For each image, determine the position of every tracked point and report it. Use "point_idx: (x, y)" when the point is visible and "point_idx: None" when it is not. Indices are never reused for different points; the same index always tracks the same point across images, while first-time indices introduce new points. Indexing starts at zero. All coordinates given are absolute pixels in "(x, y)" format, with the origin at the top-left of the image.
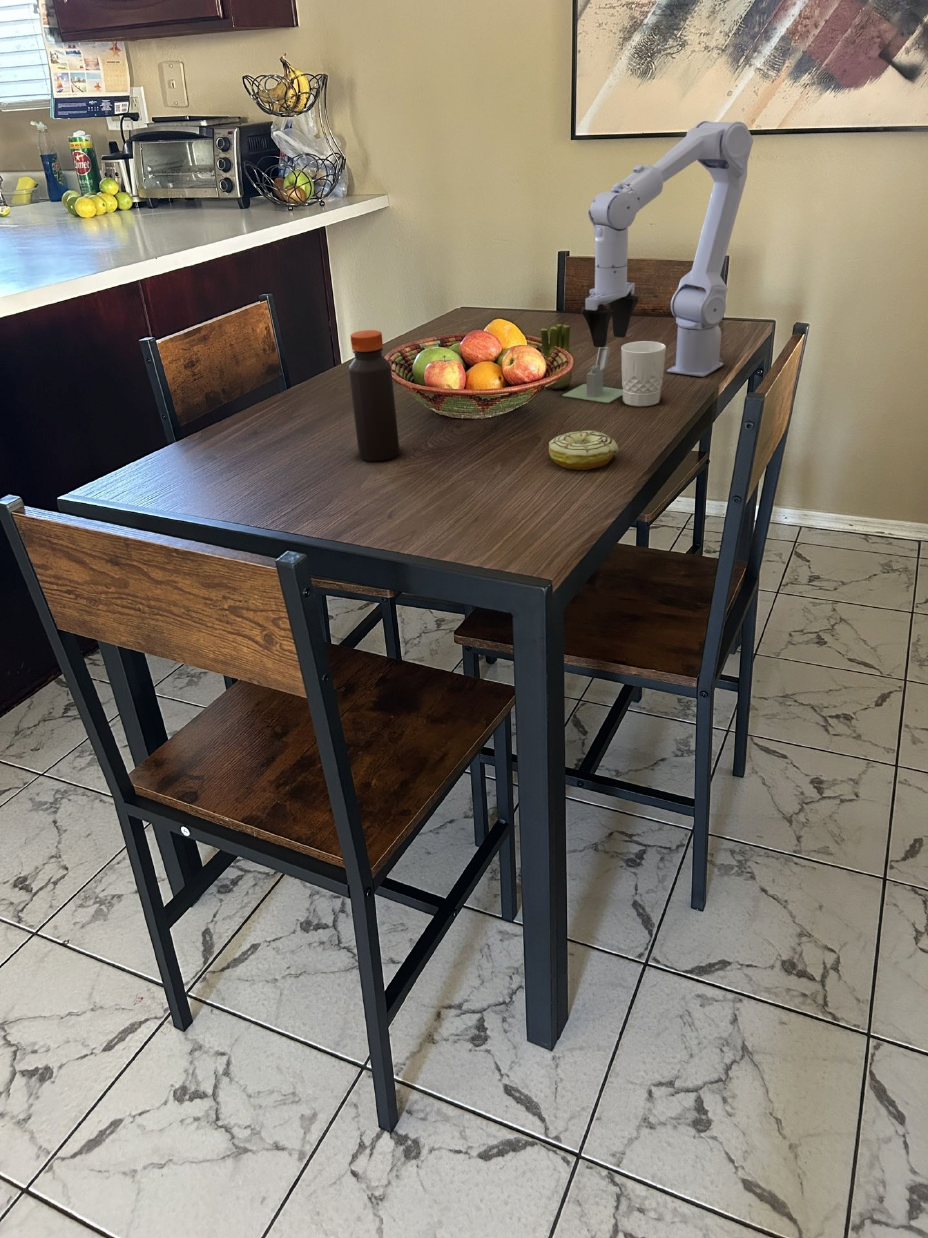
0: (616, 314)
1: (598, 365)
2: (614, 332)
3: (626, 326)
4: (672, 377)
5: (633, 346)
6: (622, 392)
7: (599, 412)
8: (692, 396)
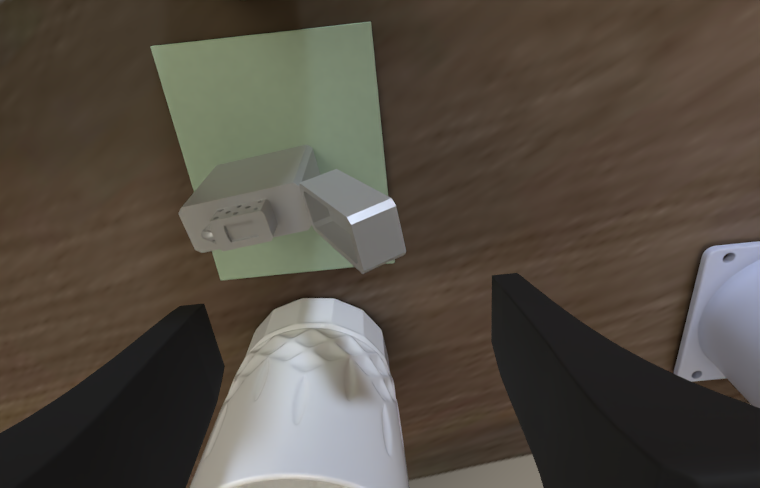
0: (558, 414)
1: (268, 234)
2: (499, 293)
3: (518, 415)
4: (644, 291)
5: (345, 466)
6: None
7: (119, 309)
8: (456, 434)
